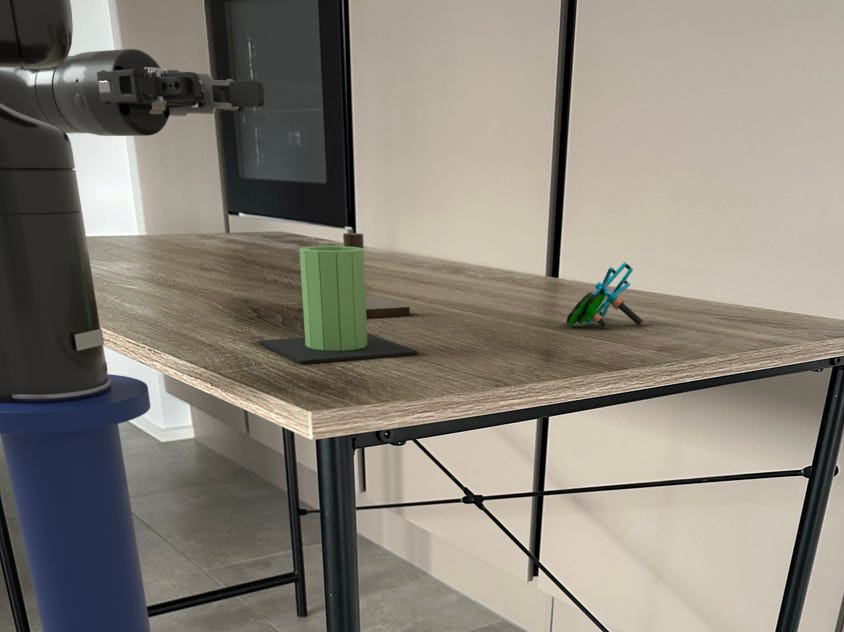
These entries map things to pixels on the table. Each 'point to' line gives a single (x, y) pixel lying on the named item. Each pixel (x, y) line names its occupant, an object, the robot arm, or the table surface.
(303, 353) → the mat
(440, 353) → the table surface
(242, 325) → the table surface
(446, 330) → the table surface
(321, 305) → the green pencil cup
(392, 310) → the stand
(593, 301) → the stick construction toy
